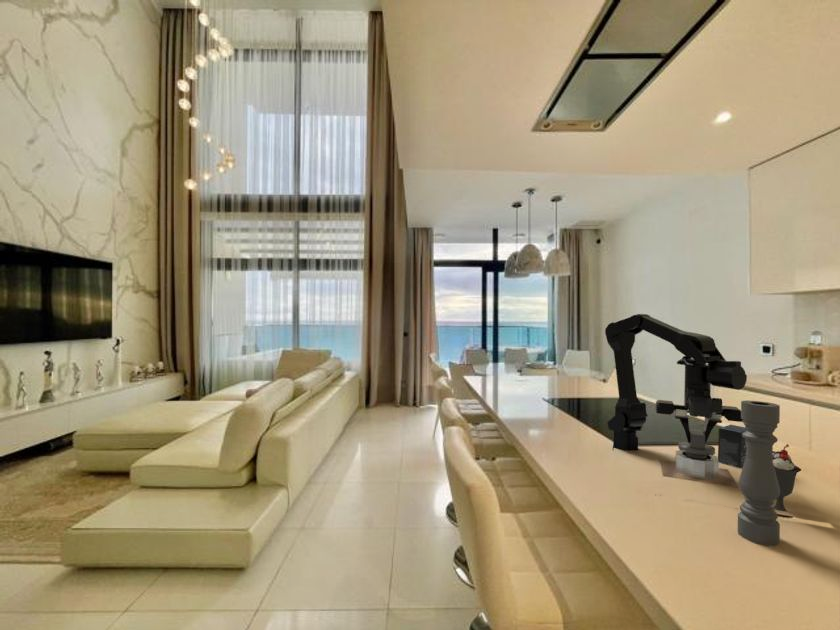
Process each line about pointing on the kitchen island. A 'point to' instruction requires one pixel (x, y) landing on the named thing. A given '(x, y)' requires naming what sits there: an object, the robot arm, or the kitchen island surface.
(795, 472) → the sundae
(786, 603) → the kitchen island surface
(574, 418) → the kitchen island surface
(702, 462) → the toothed hollow cylinder
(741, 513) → the candle holder
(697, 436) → the lens cap
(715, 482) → the stand
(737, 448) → the box
